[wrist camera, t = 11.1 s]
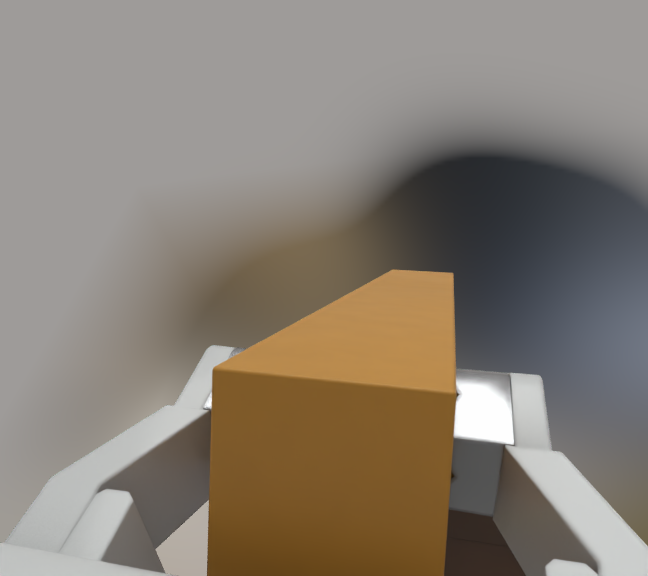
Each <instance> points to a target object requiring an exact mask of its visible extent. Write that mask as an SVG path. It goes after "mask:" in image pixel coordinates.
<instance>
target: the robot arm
mask: <svg viewBox="0 0 648 576" xmlns="http://www.w3.org/2000/svg"><path fill="white" fill-rule="evenodd" d="M244 350H246V348H231V347H224V346H216V345H212V346H211V347H209V348H208V349H207V350H206V351H205V353H204V355H203V357H202V358H201V360H200V362H199V363H198V365H197V367H196V368H195V370H194V372H193V374H192V375H191V377H190V379H189V381H188V382H187V384H186V386H185V387H184V389H183V391H182V393H181V394H180V396H179V398H178V400H177V401H176V403H175V405H174V406H169V405H166V406H165V407H163V408H161V409H160V410H158V411H157V412H155V413H153V414H152V415H150V416H149V417H147V418H145V419H144V420H142V421H140V422H139V423H137V424H136V425H134V426H133V427H131V428H129V429H128V430H126V431H124V432H123V433H121V434H120V435H118V436H116V437H115V438H113V439H112V440H110V441H108V442H107V443H105V444H104V445H102V446H100V447H99V448H97V449H96V450H94V451H92V452H91V453H89V454H88V455H86V456H84V457H83V458H81V459H80V460H78V461H76V462H75V463H73V464H72V465H70V466H68V467H67V468H65V469H63V470H62V471H60V472H59V473H57V474H55V475H54V476H52V477H51V478H50V479H49V481H48V482H47V483H46V485H45V486H44V488H43V489H42V491H41V492H40V493H39V495H38V496H37V498H36V499H35V500H34V502H33V503H32V504H31V506H30V507H29V509H28V510H27V512H26V513H25V514H24V516H23V517H22V519H21V520H20V521H19V523H18V524H17V526H16V527H15V528H14V530H13V531H12V533H11V534H10V535H9V537H8V538H7V539H6V541H5V542H4V543H1V542H0V576H176V575H171V574H166V573H165V571H164V569H163V567H162V564H161V562H160V560H159V557H158V555H157V553H156V551H155V549H156V548H157V547H158V546H159V545H160V544H161V543H162V542H163V541H165V540H166V539H167V538H168V537H169V536H170V535H171V534H172V533H173V532H174V531H175V530H176V529H178V528H179V527H180V526H181V525H182V524H183V523H184V522H185V521H186V520H187V519H188V518H189V517H190V516H192V515H193V513H195V512H196V511H197V510H198V509H199V508H200V507H201V506H202V505H203V504H204V503H205V502H207V501H208V500H209V482H210V443H211V404H212V370H213V368H214V367H215V366H217V365H218V364H220V363H222V362H224V361H226V360H228V359H229V358H231V357H233V356H235V355H237V354H239V353H241V352H242V351H244ZM456 394H457V396H456V410H455V425H454V439H453V453H452V468H451V482H450V497H449V509H450V510H455V511H461V512H467V513H473V514H479V515H485V516H490V517H493V521H494V522H495V524H496V526H497V527H498V529H499V531H500V533H501V534H502V536H503V538H504V539H505V541H506V543H507V544H508V546H509V548H510V549H511V551H512V553H513V554H514V556H515V558H516V560H517V561H518V563H519V565H520V566H521V568H522V570H523V571H524V573H525V575H526V576H648V546H647V545H646V544H645V543H644V542H643V541H642V540H641V539H640V538H639V536H637V534H636V533H635V532H634V531H633V530H632V529H631V528H630V527H629V525H628V524H627V523H626V522H625V521H624V520H623V519H622V518H621V517H620V516H619V515H618V513H617V512H616V511H615V510H614V509H613V508H612V507H611V506H610V505H609V504H608V502H607V501H606V500H605V499H604V498H603V497H602V496H601V495H600V494H599V493H598V492H597V490H596V489H595V488H594V487H593V486H592V485H591V484H590V483H589V482H588V481H587V479H586V478H585V477H584V476H583V475H582V474H581V473H580V472H579V471H578V469H577V468H576V467H575V466H574V465H573V464H572V463H571V462H570V461H569V460H568V459H567V458H566V456H565V455H564V454H563V453H562V452H557V451H552V446H551V439H550V432H549V425H548V417H547V411H546V403H545V395H544V388H543V381H542V378H541V377H540V375H531V374H518V373H509V374H508V373H502V372H490V371H478V370H467V369H456Z"/></svg>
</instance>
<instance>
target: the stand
mask: <svg viewBox="0 0 648 576" xmlns="http://www.w3.org/2000/svg"><path fill="white" fill-rule="evenodd" d="M444 576H526V575H525V573H524V571H523V570H522V568H521V566H520V565H519V563H518V561H517V560H516V558H515V556H514V554H513V553H512V551H511V549H510V548H509V546H508V544H507V543H506V541H505V539H504V538H503V536H502V534H501V533H500V531H499V529H498V527H497V526H496V524H495V522H494V521H493V517H490V516H485V515H479V514H473V513H467V512H461V511H455V510H450V509H449V511H448V525H447V540H446V554H445V568H444Z"/></svg>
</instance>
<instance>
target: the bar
mask: <svg viewBox="0 0 648 576" xmlns="http://www.w3.org/2000/svg"><path fill="white" fill-rule="evenodd" d="M454 319H455V318H454V280H453V273H441V272H425V271H408V270H391V271H390V272H388V273H386V274H384V275H382V276H380V277H379V278H377V279H375V280H373V281H371V282H369V283H368V284H366V285H364V286H362V287H360V288H358V289H357V290H355V291H353V292H351V293H349V294H347V295H345V296H344V297H342V298H340V299H338V300H336V301H334V302H333V303H331V304H329V305H327V306H325V307H324V308H322V309H320V310H318V311H316V312H314V313H313V314H310V315H309V316H307V317H305V318H303V319H302V320H299V321H298V322H296V323H294V324H292V325H290V326H288V327H287V328H285V329H283V330H281V331H279V332H277V333H276V334H274V335H272V336H270V337H268V338H266V339H264V340H263V341H261V342H259V343H257V344H255V345H254V346H252V347H250V348H248V349H246V350H244V351H242V352H241V353H239V354H237V355H235V356H233V357H231V358H229V359H228V360H226V361H224V362H222V363H220V364H218V365H217V366H215V367H214V368H213V370H212V404H211V443H210V482H209V521H208V561H207V576H444V568H445V554H446V540H447V525H448V511H449V497H450V482H451V468H452V453H453V439H454V425H455V410H456V396H457V394H456V357H455V320H454Z"/></svg>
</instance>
